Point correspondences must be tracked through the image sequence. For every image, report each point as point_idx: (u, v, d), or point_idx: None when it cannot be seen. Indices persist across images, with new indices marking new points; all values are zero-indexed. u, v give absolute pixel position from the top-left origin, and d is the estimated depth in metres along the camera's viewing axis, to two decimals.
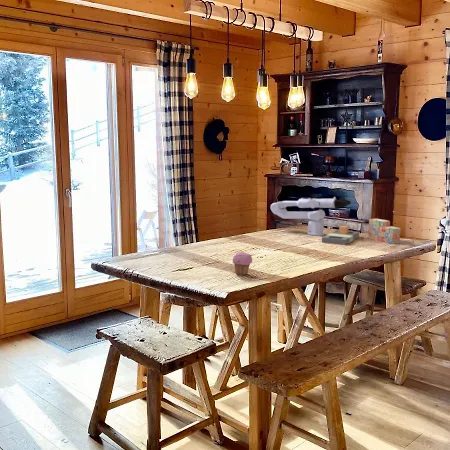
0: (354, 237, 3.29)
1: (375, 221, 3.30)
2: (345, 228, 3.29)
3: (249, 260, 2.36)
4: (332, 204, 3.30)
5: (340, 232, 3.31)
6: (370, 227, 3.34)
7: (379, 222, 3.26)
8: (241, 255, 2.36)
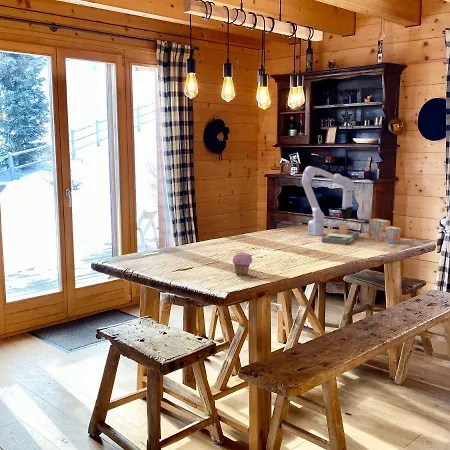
0: (354, 237, 3.29)
1: (375, 221, 3.29)
2: (345, 228, 3.29)
3: (249, 260, 2.36)
4: (343, 207, 3.35)
5: (340, 232, 3.31)
6: (370, 227, 3.34)
7: (379, 222, 3.26)
8: (241, 255, 2.36)
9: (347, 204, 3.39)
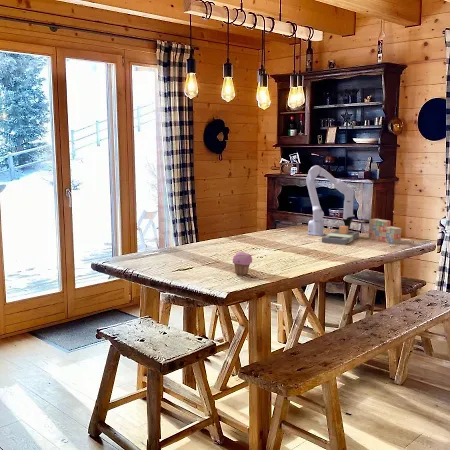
0: (354, 237, 3.29)
1: (376, 221, 3.29)
2: (345, 228, 3.29)
3: (249, 260, 2.36)
4: (344, 217, 3.32)
5: (340, 232, 3.31)
6: (370, 227, 3.33)
7: (380, 222, 3.26)
8: (241, 255, 2.36)
9: (348, 214, 3.35)
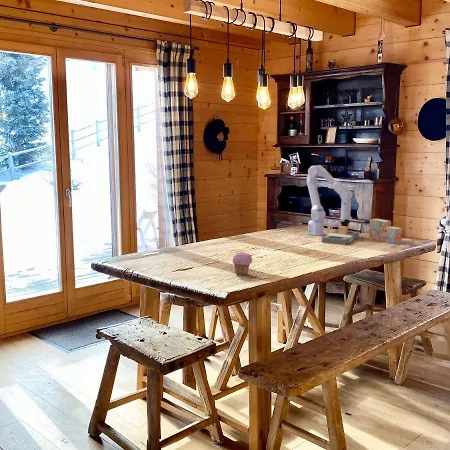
0: (354, 237, 3.29)
1: (376, 221, 3.29)
2: (344, 228, 3.28)
3: (249, 260, 2.36)
4: (341, 220, 3.27)
5: (339, 232, 3.30)
6: (371, 227, 3.33)
7: (380, 222, 3.26)
8: (241, 255, 2.36)
9: (345, 216, 3.30)
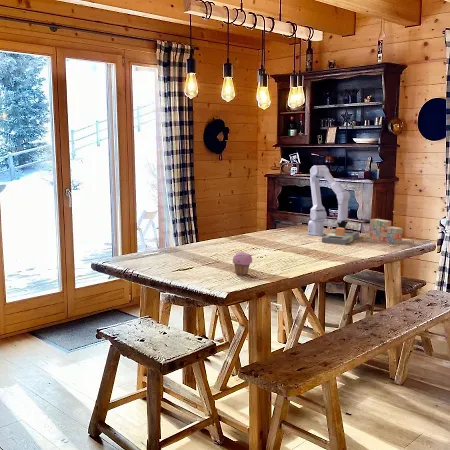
0: (354, 237, 3.29)
1: (376, 221, 3.29)
2: (341, 230, 3.23)
3: (249, 260, 2.36)
4: (338, 221, 3.21)
5: (336, 234, 3.24)
6: (371, 227, 3.33)
7: (381, 222, 3.26)
8: (241, 255, 2.36)
9: (342, 217, 3.25)
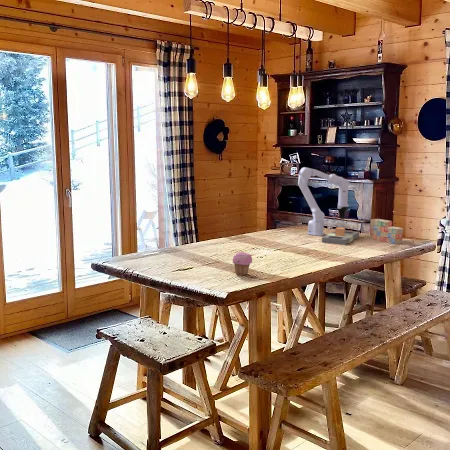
0: (354, 237, 3.29)
1: (377, 221, 3.29)
2: (341, 230, 3.23)
3: (249, 260, 2.36)
4: (338, 207, 3.36)
5: (336, 234, 3.24)
6: (372, 227, 3.33)
7: (381, 222, 3.25)
8: (241, 255, 2.36)
9: (342, 204, 3.39)
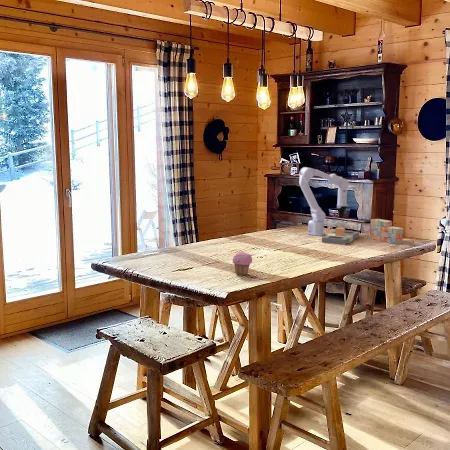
0: (354, 237, 3.29)
1: (377, 221, 3.28)
2: (341, 230, 3.23)
3: (249, 260, 2.36)
4: (338, 206, 3.39)
5: (336, 234, 3.24)
6: (372, 227, 3.33)
7: (381, 222, 3.25)
8: (241, 255, 2.36)
9: (342, 203, 3.42)
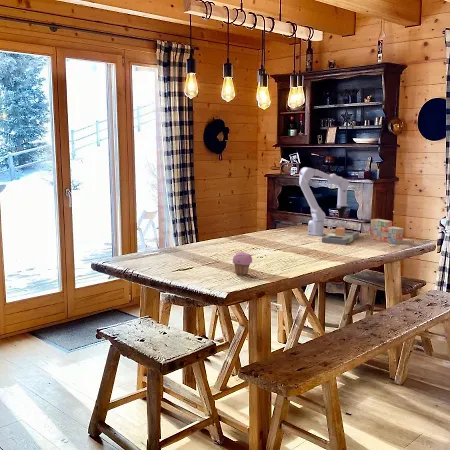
0: (354, 237, 3.29)
1: (377, 221, 3.28)
2: (341, 230, 3.23)
3: (249, 260, 2.36)
4: (338, 206, 3.39)
5: (336, 234, 3.24)
6: (372, 227, 3.33)
7: (381, 222, 3.25)
8: (241, 255, 2.36)
9: (342, 203, 3.42)
